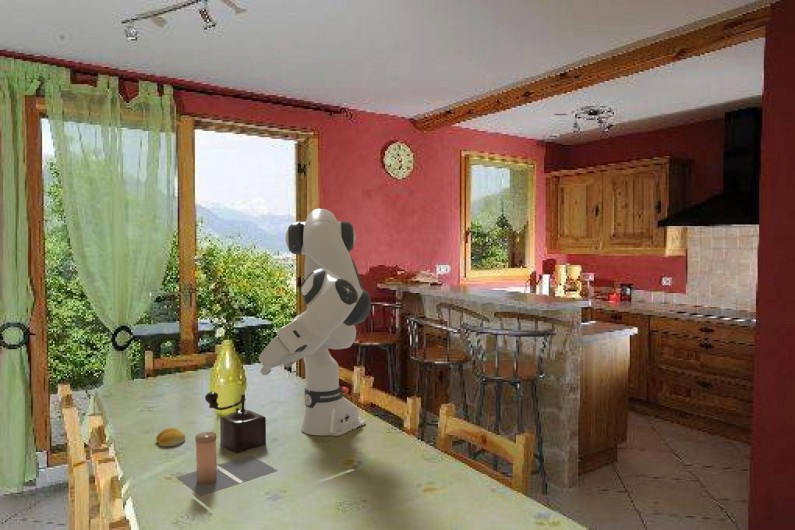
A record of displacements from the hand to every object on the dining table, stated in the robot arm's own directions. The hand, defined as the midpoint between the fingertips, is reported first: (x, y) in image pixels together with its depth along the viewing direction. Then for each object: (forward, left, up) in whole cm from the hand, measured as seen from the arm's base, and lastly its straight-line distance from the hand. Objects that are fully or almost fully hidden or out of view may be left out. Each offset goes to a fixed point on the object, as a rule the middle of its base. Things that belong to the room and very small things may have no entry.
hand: (275, 368), depth 138 cm
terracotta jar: (+11, -16, -31) cm, 36 cm away
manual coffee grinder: (-6, -33, -32) cm, 46 cm away
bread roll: (+6, -53, -32) cm, 62 cm away
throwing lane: (+5, -16, -31) cm, 36 cm away
